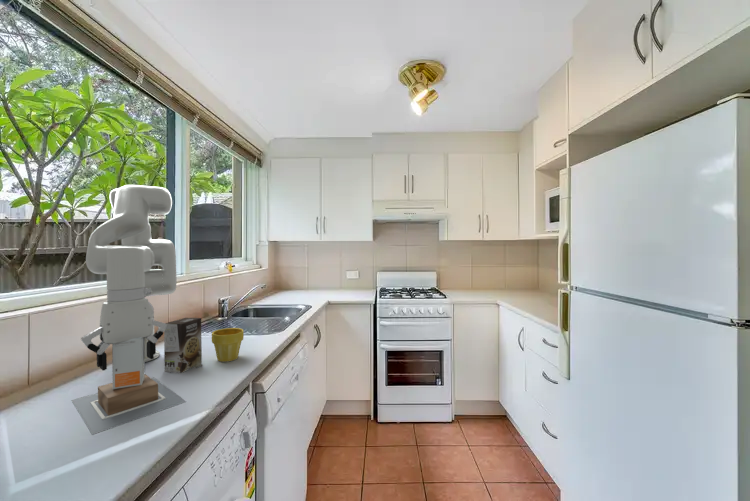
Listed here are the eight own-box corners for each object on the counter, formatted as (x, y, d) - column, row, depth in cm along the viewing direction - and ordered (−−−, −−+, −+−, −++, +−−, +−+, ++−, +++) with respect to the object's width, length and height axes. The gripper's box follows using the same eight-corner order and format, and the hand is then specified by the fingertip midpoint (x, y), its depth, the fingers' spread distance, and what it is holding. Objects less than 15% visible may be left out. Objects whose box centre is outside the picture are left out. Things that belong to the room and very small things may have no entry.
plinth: (98, 402, 81) (97, 386, 80) (145, 388, 88) (145, 374, 88) (108, 415, 74) (107, 398, 74) (158, 399, 82) (158, 383, 82)
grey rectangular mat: (71, 404, 82) (71, 399, 82) (153, 380, 96) (153, 376, 96) (92, 439, 67) (92, 433, 67) (186, 405, 81) (186, 400, 81)
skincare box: (112, 390, 78) (111, 341, 78) (116, 383, 82) (115, 337, 82) (142, 385, 81) (141, 337, 81) (145, 379, 85) (144, 333, 85)
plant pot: (249, 354, 118) (249, 328, 118) (232, 364, 108) (232, 335, 108) (224, 353, 120) (224, 326, 120) (205, 363, 110) (204, 334, 110)
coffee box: (181, 376, 99) (180, 324, 99) (163, 374, 100) (162, 323, 100) (202, 365, 108) (202, 317, 108) (186, 364, 109) (185, 316, 109)
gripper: (160, 290, 90) (161, 351, 90) (77, 298, 77) (78, 370, 77) (170, 292, 85) (171, 357, 86) (83, 302, 72) (85, 378, 72)
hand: (127, 363), depth 81 cm, fingers open, 9 cm apart
